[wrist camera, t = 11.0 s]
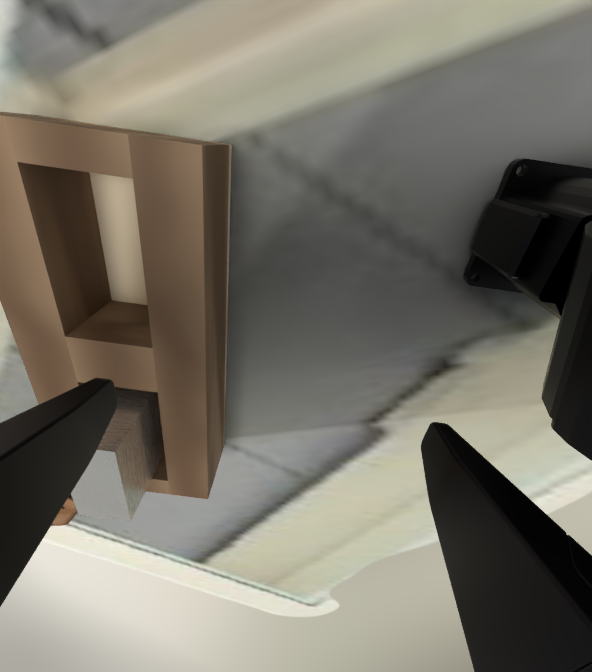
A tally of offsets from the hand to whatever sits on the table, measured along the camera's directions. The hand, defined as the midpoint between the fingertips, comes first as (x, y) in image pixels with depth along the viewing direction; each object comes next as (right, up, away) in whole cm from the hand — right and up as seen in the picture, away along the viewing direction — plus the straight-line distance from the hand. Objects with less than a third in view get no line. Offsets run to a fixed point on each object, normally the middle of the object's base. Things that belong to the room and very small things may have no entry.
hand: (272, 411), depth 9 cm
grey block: (-10, -2, +15) cm, 18 cm away
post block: (-9, +3, +13) cm, 16 cm away
